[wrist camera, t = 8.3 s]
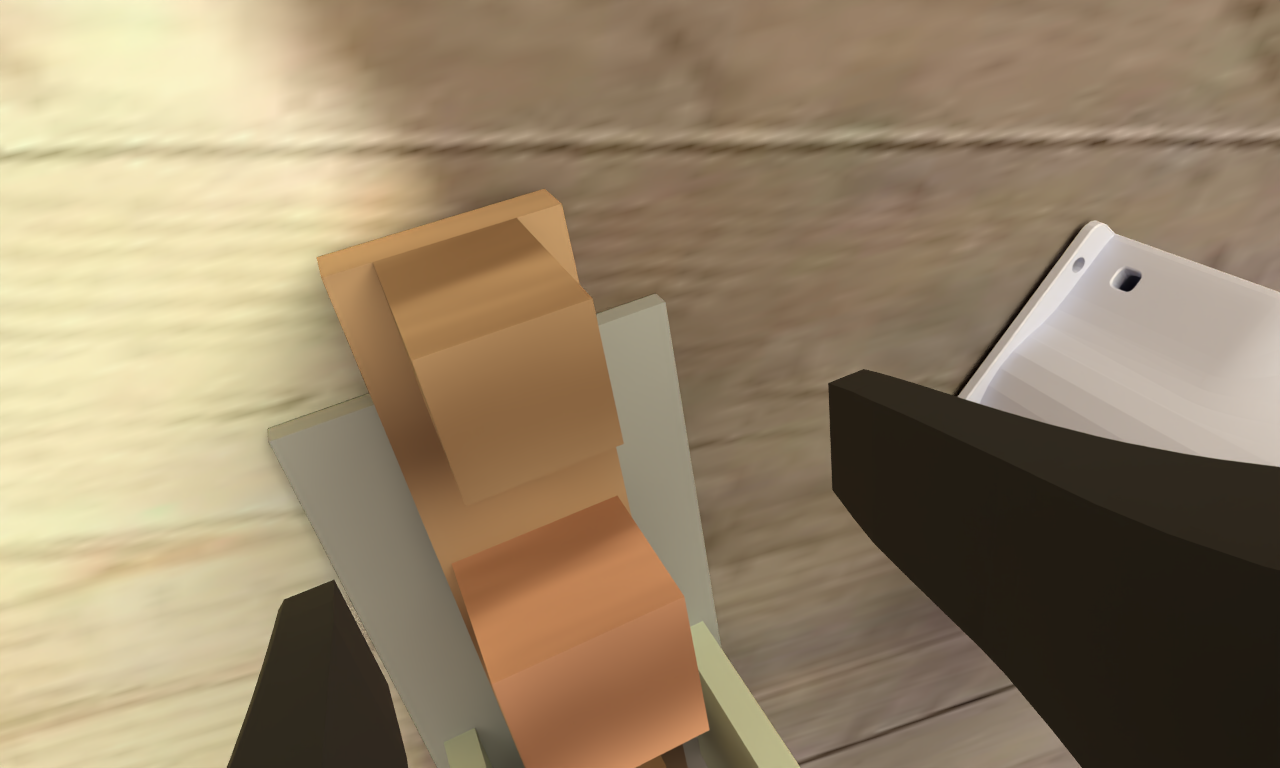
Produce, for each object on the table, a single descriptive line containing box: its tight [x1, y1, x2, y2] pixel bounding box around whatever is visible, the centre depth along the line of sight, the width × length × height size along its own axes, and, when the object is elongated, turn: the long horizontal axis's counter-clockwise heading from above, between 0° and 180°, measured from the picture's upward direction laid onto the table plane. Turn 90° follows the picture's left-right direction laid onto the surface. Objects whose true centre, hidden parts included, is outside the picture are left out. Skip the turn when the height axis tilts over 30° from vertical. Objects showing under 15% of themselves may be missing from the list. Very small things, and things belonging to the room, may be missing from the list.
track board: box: [268, 294, 721, 768], centre depth 28 cm, size 31×10×1 cm, turn 10°
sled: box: [317, 189, 710, 768], centre depth 21 cm, size 21×5×6 cm, turn 10°
